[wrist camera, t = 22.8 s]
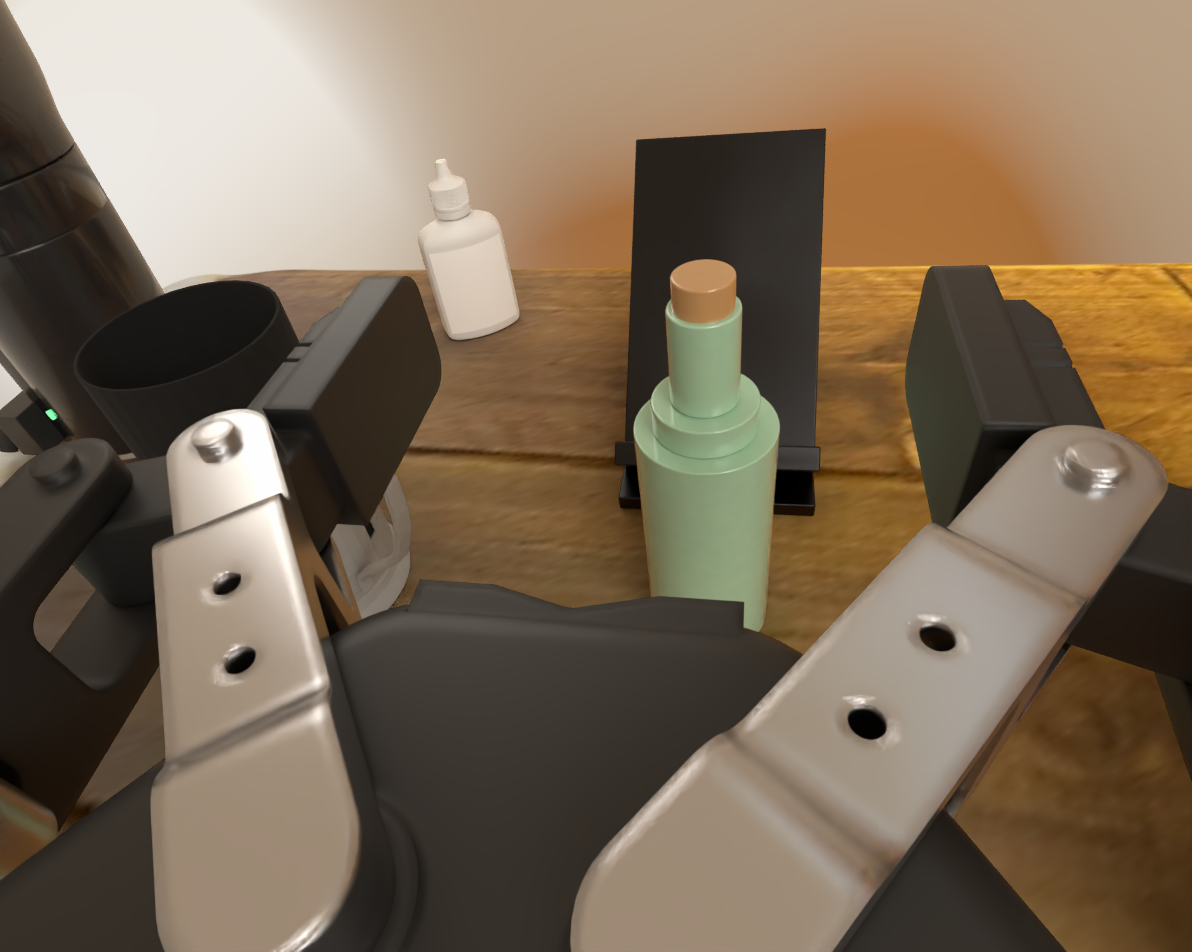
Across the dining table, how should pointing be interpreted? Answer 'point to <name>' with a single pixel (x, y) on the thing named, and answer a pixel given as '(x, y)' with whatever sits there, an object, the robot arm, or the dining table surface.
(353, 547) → the glass holder
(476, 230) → the eye dropper bottle
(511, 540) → the dining table surface
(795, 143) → the cradle
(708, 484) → the bottle
